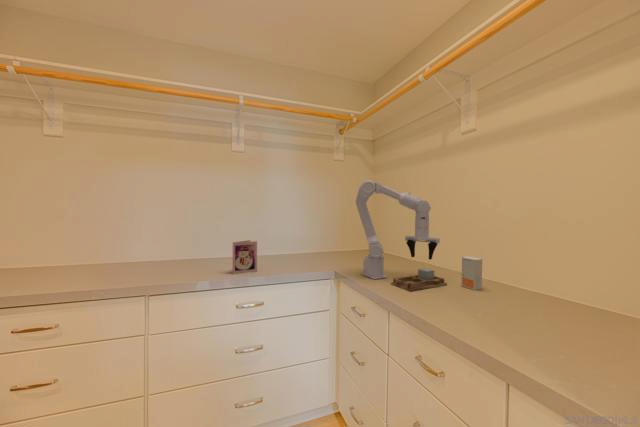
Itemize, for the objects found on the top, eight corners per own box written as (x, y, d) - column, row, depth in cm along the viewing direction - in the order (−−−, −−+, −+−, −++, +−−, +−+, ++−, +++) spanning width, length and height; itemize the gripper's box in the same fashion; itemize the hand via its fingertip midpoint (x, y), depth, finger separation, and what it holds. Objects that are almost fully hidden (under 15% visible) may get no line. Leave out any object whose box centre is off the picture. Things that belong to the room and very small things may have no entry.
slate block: (417, 281, 110) (418, 269, 110) (424, 279, 112) (424, 268, 112) (427, 283, 106) (427, 271, 106) (434, 282, 108) (434, 270, 108)
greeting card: (232, 274, 122) (232, 242, 122) (230, 271, 129) (230, 240, 129) (257, 272, 127) (257, 241, 127) (254, 268, 134) (254, 239, 134)
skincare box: (460, 286, 106) (461, 256, 106) (468, 285, 107) (469, 256, 107) (474, 290, 100) (474, 259, 100) (482, 289, 102) (482, 258, 101)
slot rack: (390, 284, 108) (390, 277, 108) (425, 278, 117) (425, 272, 117) (411, 292, 98) (411, 285, 98) (447, 285, 107) (447, 279, 107)
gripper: (402, 227, 118) (402, 257, 118) (436, 228, 108) (435, 261, 108) (408, 226, 123) (408, 255, 123) (441, 228, 114) (440, 259, 114)
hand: (421, 258), depth 116 cm, fingers open, 7 cm apart
